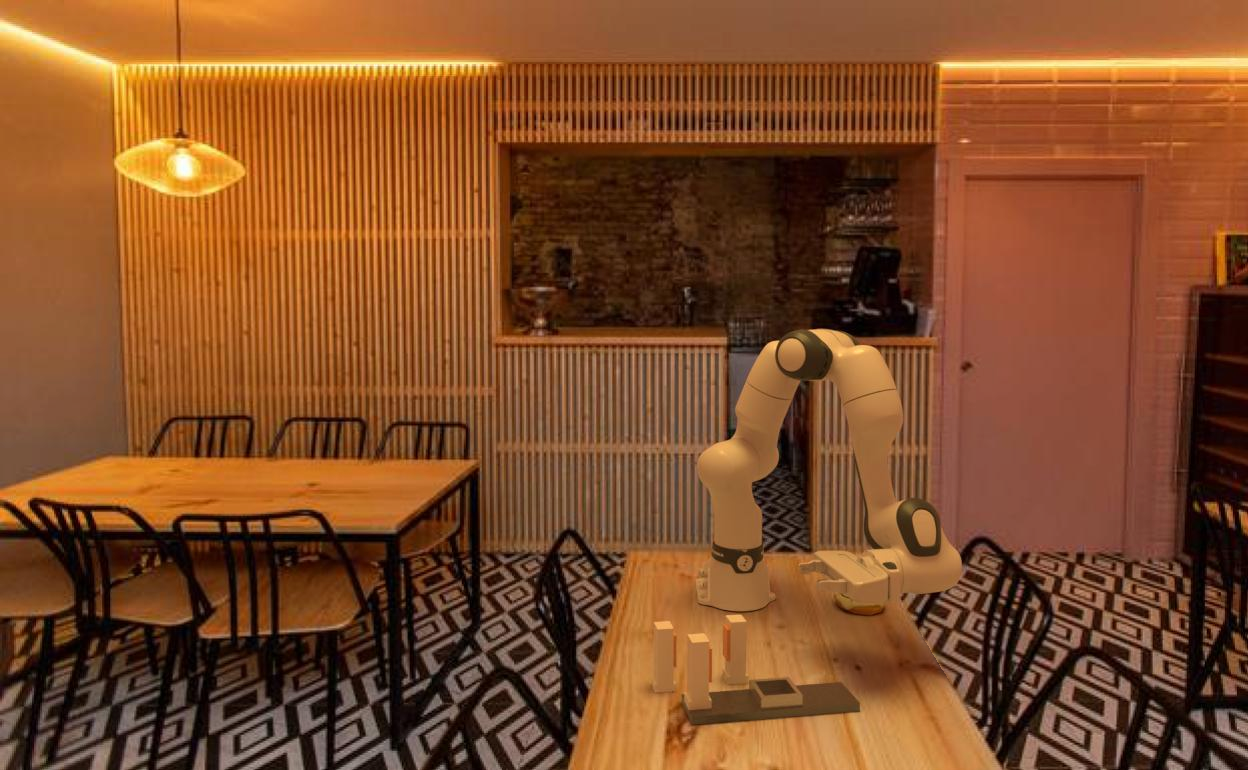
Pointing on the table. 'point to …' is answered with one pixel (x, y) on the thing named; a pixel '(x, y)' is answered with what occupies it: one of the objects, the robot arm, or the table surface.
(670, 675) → the white orange block
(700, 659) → the post
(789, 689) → the rail
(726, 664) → the beige tall square block
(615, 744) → the table surface
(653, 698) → the table surface
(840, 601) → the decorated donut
